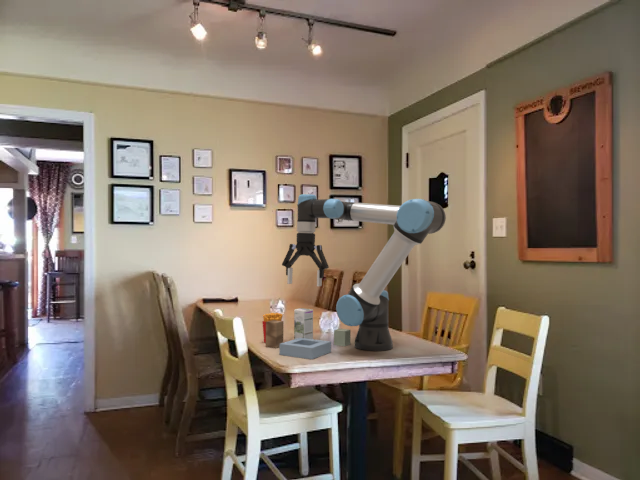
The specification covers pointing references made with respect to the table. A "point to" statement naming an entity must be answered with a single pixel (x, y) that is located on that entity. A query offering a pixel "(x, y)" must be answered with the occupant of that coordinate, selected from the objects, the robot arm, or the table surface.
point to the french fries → (269, 318)
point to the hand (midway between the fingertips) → (304, 285)
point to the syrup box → (303, 323)
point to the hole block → (305, 348)
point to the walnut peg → (274, 333)
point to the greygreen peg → (342, 337)
